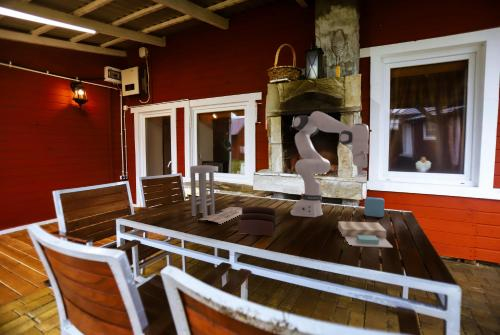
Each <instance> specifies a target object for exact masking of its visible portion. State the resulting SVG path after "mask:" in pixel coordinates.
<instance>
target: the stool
mask: <svg viewBox="0 0 500 335" xmlns="http://www.w3.org/2000/svg"><path fill="white" fill-rule="evenodd" d="M189 171H190V173H189V174H190V175H189V176H190V196H191V197H190V200H191V217H192V216H196V215H197V205H199V214H200V213H203V214H202V218H203V217H206V216H208V206H209V211H210V213H209V215H210V214H213V213H216V212H215V211H216V210H215V209H216V208H215V182H214V181H215V179H214V177H215V176H214V175H215V174H214V171H215V170H214V166H213V165H210V164H209V165H208V164H202V165H201V164H200V165H192V166H190V170H189ZM196 174H198V194H199V195H198V197H197V191H196V186H197V185H196ZM207 174H208V179H209V182H208V183H209V198H208V191H207V190H208V189H207V188H208V187H207ZM198 200H199V201H198ZM196 217H197V216H196Z"/></svg>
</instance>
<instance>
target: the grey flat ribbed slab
mask: <svg viewBox="0 0 500 335" xmlns="http://www.w3.org/2000/svg"><path fill="white" fill-rule="evenodd" d="M242 208H243V207H239V206H238V207H236V206H229V207H226V208H224V209H221V210H219V211H217V212H215V213H213V214H211V215H210V214H209V215H208V214H207V216H206V217H203V216H202V218H199V219H197V221H198V220H208V221H207V222H209V221H211V222H214V223H218V224H221V225H223V224H225V223H227V222H229V220H230V221H232V220H234V219H236V218H238V217H240V216H239V215H241V214H242ZM237 216H238V217H237ZM235 217H236V218H235ZM233 218H234V219H233ZM231 219H232V220H231ZM226 221H227V222H226ZM224 222H225V223H224ZM222 223H223V224H222Z"/></svg>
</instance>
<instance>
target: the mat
mask: <svg viewBox="0 0 500 335" xmlns="http://www.w3.org/2000/svg"><path fill="white" fill-rule="evenodd" d="M344 238H345V240H346V243H347V242H348V243H347V245H348V244H349V245H352V246H353V247H365V248H367V247H368V248H370V247H371V248H390V249H393V248H394V247H393V245H392V244H391V243H390V242H389V241H388V240H387V238H378V240H379V244H366V243H359V241H358V240H357V237H349V236H344ZM349 245H348V246H349ZM352 246H351V247H352Z"/></svg>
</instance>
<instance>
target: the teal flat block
mask: <svg viewBox="0 0 500 335" xmlns="http://www.w3.org/2000/svg"><path fill="white" fill-rule="evenodd" d="M357 240H358V241H359V243H366V244H379V240H378V238H377V237H376V236H366V235H357Z"/></svg>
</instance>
